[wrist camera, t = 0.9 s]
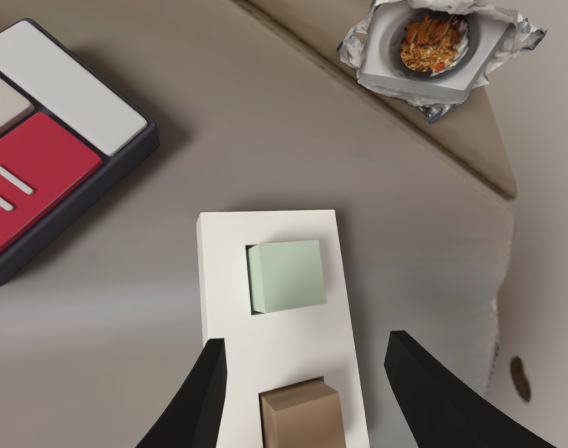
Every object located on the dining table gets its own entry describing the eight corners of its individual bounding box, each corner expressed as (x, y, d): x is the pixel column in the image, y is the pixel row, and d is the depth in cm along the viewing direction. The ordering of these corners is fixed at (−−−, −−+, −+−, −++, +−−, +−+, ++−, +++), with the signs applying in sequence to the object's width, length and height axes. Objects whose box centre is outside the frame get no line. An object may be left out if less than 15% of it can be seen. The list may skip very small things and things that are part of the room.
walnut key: (322, 441, 21) (349, 469, 17) (265, 462, 19) (283, 497, 16) (314, 377, 21) (338, 392, 18) (258, 392, 20) (275, 411, 17)
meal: (430, 101, 38) (547, 16, 26) (426, 126, 37) (548, 48, 25) (337, 40, 34) (425, -92, 22) (329, 66, 33) (417, -60, 21)
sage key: (305, 301, 22) (326, 303, 19) (251, 309, 21) (265, 313, 18) (298, 246, 23) (318, 239, 20) (246, 250, 22) (258, 243, 18)
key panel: (343, 448, 24) (374, 476, 20) (212, 499, 20) (220, 546, 16) (313, 220, 28) (334, 209, 24) (196, 224, 24) (200, 212, 20)
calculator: (-254, 156, 14) (21, 3, 19) (-155, 183, 18) (49, 52, 23) (-42, 293, 15) (158, 119, 20) (5, 289, 19) (162, 144, 24)
